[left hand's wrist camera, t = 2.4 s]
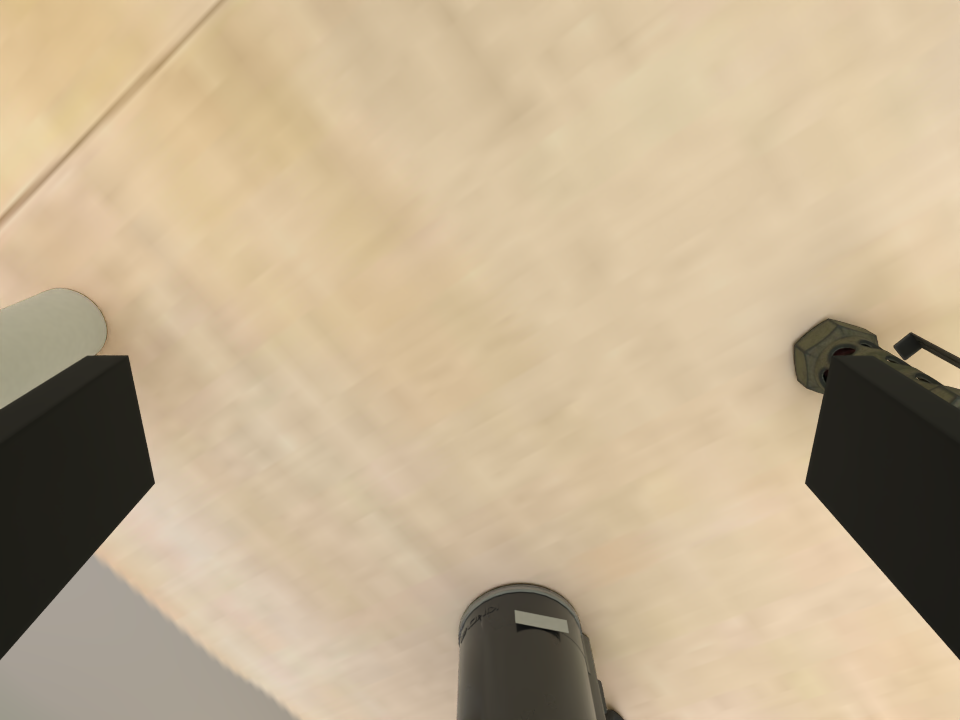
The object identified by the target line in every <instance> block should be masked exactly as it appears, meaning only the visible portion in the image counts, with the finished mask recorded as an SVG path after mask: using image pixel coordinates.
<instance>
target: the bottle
mask: <svg viewBox="0 0 960 720" xmlns="http://www.w3.org/2000/svg"><path fill="white" fill-rule="evenodd" d="M106 336H107V328H106V323H105V320H104V317H103V315H102V313H101V312H100V310H99V309H98V307H97V306H96V305H95V304H94V303H93V302H92V301H91V300H90V299H88V298H87V297H86V296H84V295H82V294H80V293H78V292H76V291H73V290H69V289H62V288H56V289H50V290H47V291H45V292H42V293H40V294H37V295H35V296H33V297H30V298H28V299H25V300H23V301H20V302H18V303H16V304H13V305H11V306H8V307H6V308H3V309H1V310H0V409H2V408H3V407H5V406H6V405H8V404H10V403H11V402H13V401H15V400H16V399H18V398H19V397H21V396H23V395H24V394H26V393H27V392H29V391H31V390H32V389H34V388H35V387H37V386H39V385H40V384H42V383H44V382H45V381H47V380H48V379H50V378H52V377H53V376H55V375H56V374H58V373H60V372H61V371H63V370H65V369H66V368H68V367H69V366H71V365H73V364H74V363H76V362H77V361H79V360H81V359H82V358H84V357H86V356H94V355H96V354H97V353H98V352H99V351H100V350H101V349H102V347H103V345H104V343H105V341H106Z"/></svg>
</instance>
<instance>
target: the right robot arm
mask: <svg viewBox="0 0 960 720" xmlns="http://www.w3.org/2000/svg"><path fill="white" fill-rule="evenodd" d="M459 648H460V650H459V671H458V698H457V720H623V719H622V718H621V717H620V716H619V715H618V714H617V713H616V712H615V711H613V710H607V707H606V703H605V698H604V693H603V688H602V684H601V681H599V680H598V679H597V675H596V670H595V665H594V660H593V656H592V651H591V646H590V641H589V638H588V637H587V636H585V635H584V634H583V633H582V630H581V625H580V621H579V618H578V615H577V613H576V611H575V610H574V608H573V607H572V606H571V605H570V603H569V602H568V601H567V600H565V599H564V598H563V597H562V596H560V595H559V594H557V593H555V592H553V591H551V590H549V589H546V588H543V587H539V586H535V585H525V584H516V585H508V586H503V587H499V588H496V589H494V590H491V591H489V592H487V593H485V594H483V595H482V596H480V597H479V598H477V599H476V600H475V601H474V602H473V603H472V604H471V605H470V606H469V607H468V609H467V610H466V611H465V613H464V615H463V617H462V619H461V622H460V626H459Z"/></svg>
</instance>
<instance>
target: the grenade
mask: <svg viewBox="0 0 960 720" xmlns="http://www.w3.org/2000/svg"><path fill="white" fill-rule="evenodd" d="M894 348H895V350H896V351H897V352H898V353H899V355H900V356H901V357H902V358H903V360H907V359H908V358H909V357H911V356H912V355H913V354H915V353H916V352H917V351H919V350H920V349H921V348H923V349H925V350H927V351H929V352H931V353H932V354H934V355H936V356H938V357H940V358H941V359H943V360H945V361H947V362H949V363H950V364H952V365H954V366H956V367H958V368H959V369H960V358H959V357H957V356H955V355H953V354H951V353H949V352H947V351H945V350H944V349H942V348H940V347H938V346H936V345H934V344H932V343H930V342H929V341H927V340H925V339H923V338H921V337H919V336H917V335H915V334H914V333H912V332H911V333H909V334H908V335H906V336H905V337H904V338H903V339H901V340H900V341H899V342H898V343H896V344H895V345H894ZM832 356H874V357H876V358H878V359H879V360H881V361H883V362H884V363H886V364H887V365H889V366H891V367H892V368H894V369H895V370H897V371H899V372H900V373H902V374H904V375H905V376H907V377H908V378H910V379H912V380H913V381H915V382H916V383H918V384H920V385H921V386H923V387H925V388H926V389H928V390H929V391H931V392H933V393H934V394H936V395H937V396H939V397H941V398H942V399H944V400H945V401H947V402H949V403H950V404H952V405H954V406H955V407H957V408H958V409H960V389H957V388H953V387H949V386H944V385H942V384H941V383H939V382H938V381H936V380H935V379H933V378H931V377H930V376H928V375H926V374H925V373H923V372H921V371H920V370H918V369H916V368H914V367H912V366H910V365H909V364H907V363H906V362H904V361H903V360H901V359H899V358H898V357H896V356H894V355H892V354H891V353H889V352H887V351H885V350H883V349H881V348H880V347H879V346H878V341H877V336H876V335H875V334H873V333H871V332H869V331H867V330H866V329H863V328H860V327H857V326H854V325H850V324H847V323H844V322H840V321H836V320H832V319H827V320H825V321H824V322H822V323H820V324H819V325H817V326H816V327H814V328H813V329H812V330H810V331H809V332H808V333H807V334H806V335H804V336H803V337H802V338H801V339H800V340H799V341H798V342H797V343H796V344H795V347H794V361H795V370H796V375H797V380H798V381H799V382H800V383H801V384H802V385H803V386H805V387H806V388H807V389H810V390H813V391H816V392H819V393H822V394H824V390H825V386H826V381H827V376H828V371H829V367H830V362H831V357H832ZM887 360H889V361H890V362H889V361H887ZM917 378H918V379H917Z"/></svg>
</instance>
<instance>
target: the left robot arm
mask: <svg viewBox="0 0 960 720" xmlns="http://www.w3.org/2000/svg"><path fill="white" fill-rule="evenodd" d="M154 484H155V481H154V477H153V472H152V467H151V462H150V457H149V453H148V448H147V443H146V438H145V433H144V429H143V424H142V419H141V414H140V410H139V405H138V400H137V395H136V390H135V386H134V381H133V376H132V371H131V367H130V362H129V357H128V356H86V357H84V358H82V359H81V360H79V361H77V362H76V363H74V364H73V365H71V366H69V367H68V368H66V369H65V370H63V371H61V372H60V373H58V374H56V375H55V376H53V377H52V378H50V379H48V380H47V381H45V382H44V383H42V384H40V385H39V386H37V387H35V388H34V389H32V390H31V391H29V392H27V393H26V394H24V395H23V396H21V397H19V398H18V399H16V400H15V401H13V402H11V403H10V404H8V405H6V406H5V407H3V408H2V409H0V660H1V658H2V657H3V656H4V655H5V654H6V653H7V652H8V651H9V649H10V648H11V647H12V646H13V645H14V644H15V642H16V641H17V640H18V639H19V638H20V637H21V636H22V635H23V633H24V632H25V631H26V630H27V629H28V628H29V627H30V625H31V624H32V623H33V622H34V621H35V620H36V619H37V617H38V616H39V615H40V614H41V613H42V612H43V611H44V609H45V608H46V607H47V606H48V605H49V604H50V603H51V601H52V600H53V599H54V598H55V597H56V596H57V595H58V593H59V592H60V591H61V590H62V589H63V588H64V587H65V585H66V584H67V583H68V582H69V581H70V580H71V579H72V577H73V576H74V575H75V574H76V573H77V572H78V571H79V569H80V568H81V567H82V566H83V565H84V564H85V563H86V561H87V560H88V559H89V558H90V557H91V556H92V555H93V553H94V552H95V551H96V550H97V549H98V548H99V547H100V545H101V544H102V543H103V542H104V541H105V540H106V539H107V537H108V536H109V535H110V534H111V533H112V532H113V531H114V529H115V528H116V527H117V526H118V525H119V524H120V523H121V521H122V520H123V519H124V518H125V517H126V516H127V515H128V514H129V512H130V511H131V510H132V509H133V508H134V507H135V506H136V504H137V503H138V502H139V501H140V500H141V499H142V498H143V496H144V495H145V494H146V493H147V492H148V491H149V490H150V488H151V487H152V486H153V485H154ZM805 484H806V485H807V486H808V487H809V488H810V490H811V491H812V492H813V493H814V494H815V495H816V496H817V498H818V499H819V500H820V501H821V502H822V503H823V504H824V506H825V507H826V508H827V509H828V510H829V511H830V512H831V514H832V515H833V516H834V517H835V518H836V519H837V520H838V521H839V523H840V524H841V525H842V526H843V527H844V528H845V529H846V531H847V532H848V533H849V534H850V535H851V536H852V537H853V539H854V540H855V541H856V542H857V543H858V544H859V545H860V547H861V548H862V549H863V550H864V551H865V552H866V553H867V555H868V556H869V557H870V558H871V559H872V560H873V561H874V563H875V564H876V565H877V566H878V567H879V568H880V569H881V571H882V572H883V573H884V574H885V575H886V576H887V577H888V579H889V580H890V581H891V582H892V583H893V584H894V585H895V587H896V588H897V589H898V590H899V591H900V592H901V593H902V595H903V596H904V597H905V598H906V599H907V600H908V601H909V603H910V604H911V605H912V606H913V607H914V608H915V609H916V611H917V612H918V613H919V614H920V615H921V616H922V617H923V619H924V620H925V621H926V622H927V623H928V624H929V625H930V627H931V628H932V629H933V630H934V631H935V632H936V633H937V635H938V636H939V637H940V638H941V639H942V640H943V641H944V643H945V644H946V645H947V646H948V647H949V648H950V649H951V651H952V652H953V653H954V654H955V655H956V656H957V657H958V659H959V660H960V409H958V408H957V407H955V406H954V405H952V404H950V403H949V402H947V401H945V400H944V399H942V398H941V397H939V396H937V395H936V394H934V393H933V392H931V391H929V390H928V389H926V388H925V387H923V386H921V385H920V384H918V383H916V382H915V381H913V380H912V379H910V378H908V377H907V376H905V375H904V374H902V373H900V372H899V371H897V370H895V369H894V368H892V367H891V366H889V365H887V364H886V363H884V362H883V361H881V360H879V359H878V358H876V357H874V356H832V357H831V362H830V367H829V371H828V376H827V381H826V386H825V390H824V395H823V400H822V405H821V410H820V414H819V419H818V424H817V429H816V433H815V438H814V443H813V448H812V453H811V457H810V462H809V467H808V472H807V477H806V481H805Z"/></svg>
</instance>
